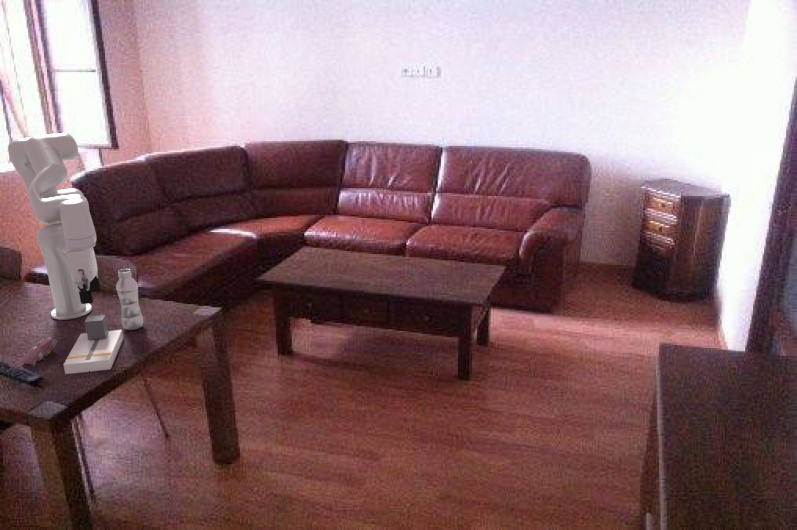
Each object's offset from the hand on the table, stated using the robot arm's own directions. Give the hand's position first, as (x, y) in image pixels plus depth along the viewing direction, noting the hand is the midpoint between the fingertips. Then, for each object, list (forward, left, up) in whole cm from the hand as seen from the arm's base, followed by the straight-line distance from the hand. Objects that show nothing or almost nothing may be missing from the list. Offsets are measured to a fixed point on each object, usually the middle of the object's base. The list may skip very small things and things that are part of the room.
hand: (91, 297), depth 191 cm
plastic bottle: (-11, +8, -17) cm, 22 cm away
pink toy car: (+3, -16, -17) cm, 23 cm away
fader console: (+6, 0, -17) cm, 17 cm away
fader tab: (0, 0, -13) cm, 13 cm away
